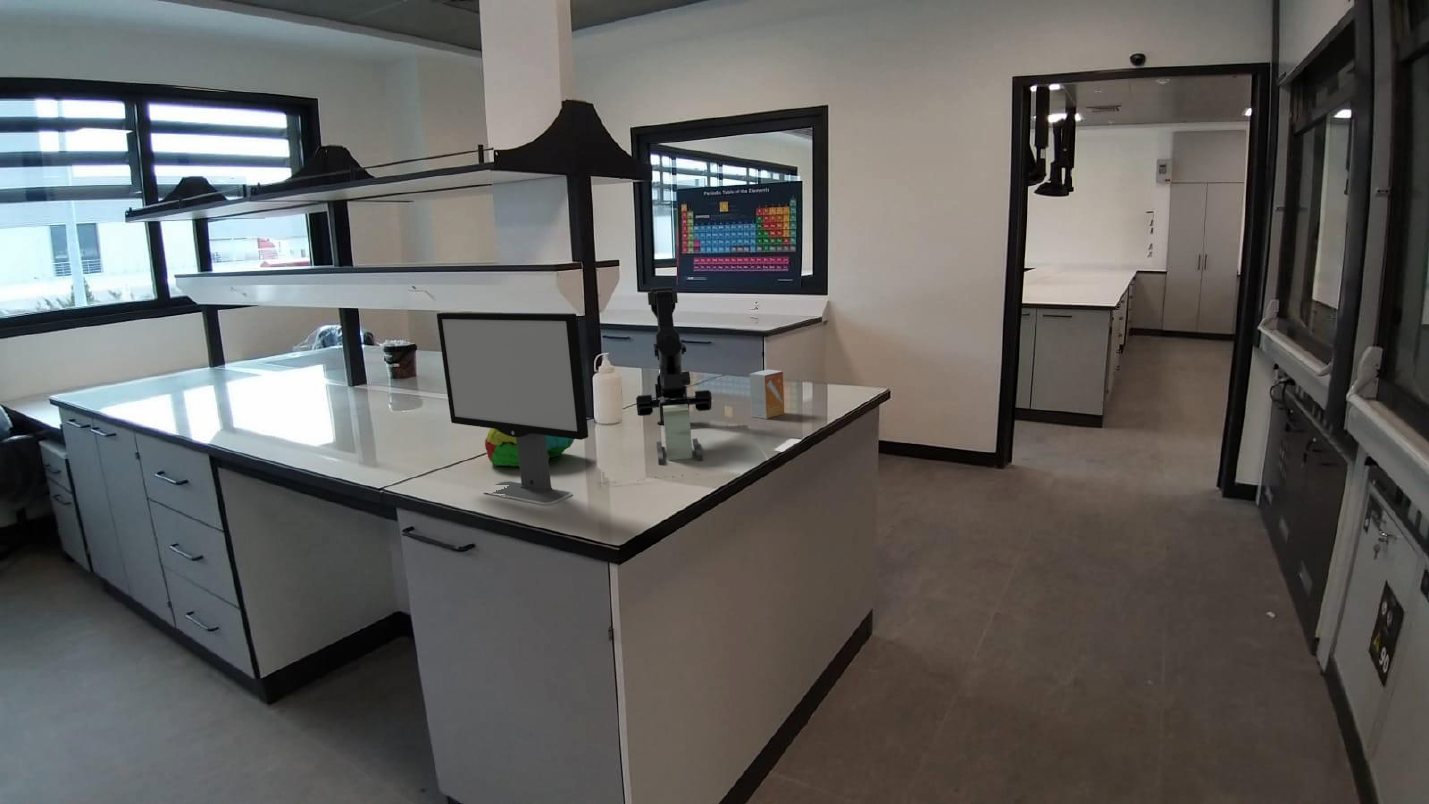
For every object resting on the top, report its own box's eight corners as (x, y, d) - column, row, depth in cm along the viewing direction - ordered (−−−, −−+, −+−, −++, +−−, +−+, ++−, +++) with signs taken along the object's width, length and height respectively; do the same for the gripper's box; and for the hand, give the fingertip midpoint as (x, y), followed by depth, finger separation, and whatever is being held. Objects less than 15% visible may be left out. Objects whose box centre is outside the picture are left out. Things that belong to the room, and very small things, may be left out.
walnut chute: (654, 452, 199) (653, 442, 199) (700, 448, 200) (700, 438, 200) (655, 470, 184) (654, 459, 183) (706, 466, 185) (705, 455, 184)
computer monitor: (451, 487, 181) (427, 314, 172) (480, 476, 188) (458, 310, 179) (582, 513, 158) (561, 315, 150) (609, 500, 165) (591, 310, 157)
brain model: (592, 449, 204) (584, 393, 201) (557, 472, 186) (548, 411, 183) (514, 452, 211) (505, 398, 208) (473, 473, 194) (462, 415, 191)
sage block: (666, 453, 192) (662, 406, 190) (690, 451, 193) (687, 404, 190) (667, 460, 186) (663, 411, 184) (692, 458, 187) (689, 409, 184)
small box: (766, 419, 226) (764, 375, 223) (750, 416, 231) (748, 373, 228) (785, 413, 232) (783, 370, 229) (769, 411, 236) (767, 368, 233)
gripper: (633, 363, 193) (637, 417, 184) (708, 358, 194) (715, 410, 186) (635, 389, 202) (639, 441, 194) (707, 383, 203) (714, 434, 195)
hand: (677, 431), depth 192 cm, fingers closed, pressing on sage block
